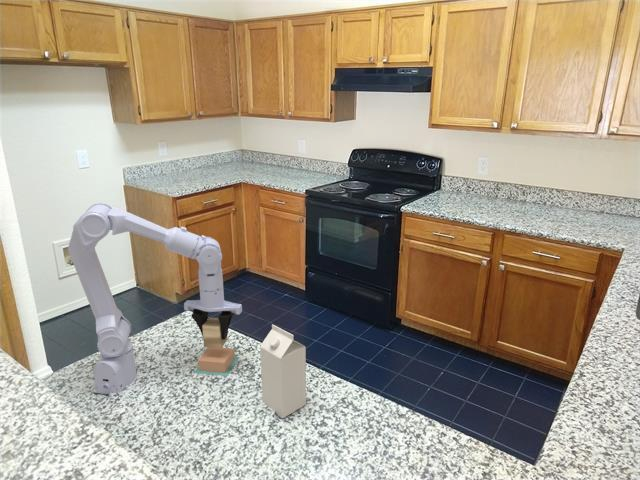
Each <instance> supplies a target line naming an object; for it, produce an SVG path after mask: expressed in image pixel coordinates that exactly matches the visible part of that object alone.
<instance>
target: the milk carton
mask: <svg viewBox="0 0 640 480" xmlns="http://www.w3.org/2000/svg"><path fill="white" fill-rule="evenodd" d="M306 347H307V346H305V345H303V344H302V343H300V342H298V341H296V340H295V339H294V334H292V333H290V332H288V331H286V330H284V329H282V328H281V327H278V326H277V325H274V324H271V330H270V331H269V332H268V334H267V335H266V337H265V338H264V340H263V342H262V343H261V344H260V347H259V349H260V372H261V373H260V374H261V391H262V392H261V395H262V403H263V404H265V405H266V406H268V407H269V408H271V410H273V411H275V413H274V414H275V415H277V416H278V417H279V418H281V419H284V418H286V417H288V416H289V415H291V414H292V413H294V412H296V411H298V410H300V409H301V408H303V407H304V406H306V405H307V371H306V368H307V367H306V364H307V363H306V362H307V361H306V358H307V357H306V355H307V354H306V351H307V350H306Z"/></svg>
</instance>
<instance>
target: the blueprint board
mask: <svg viewBox="0 0 640 480" xmlns="http://www.w3.org/2000/svg"><path fill="white" fill-rule="evenodd" d="M239 359H240V356H235V359H234V361H233V362H232V364H231V365H230V367H229V368H228V370H227V371H226V373H216V372H206V371H199V366H197V367H196V368H195V370H194V371H193V373H194V374H202V375H203V374H204V375H211V376H213V375H214V376H221V377H228V376H229V374H231V371H232V370H233V368H234V367H235V365H236V363H237V362H238V361H239Z"/></svg>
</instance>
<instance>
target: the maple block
mask: <svg viewBox="0 0 640 480" xmlns="http://www.w3.org/2000/svg"><path fill="white" fill-rule="evenodd" d="M202 328H203V336H202V339H203V347H204V348H208V347H209V348H220V349H221V348H224V345H225V344H226V342H227V341H228V336H227V337H226V339H225V340H222V337H221V326H220V322H219V319H218V317H208V320H207V321H206V322H205V323H204V324H203V325H202Z"/></svg>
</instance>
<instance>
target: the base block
mask: <svg viewBox="0 0 640 480" xmlns="http://www.w3.org/2000/svg"><path fill="white" fill-rule="evenodd" d="M206 348H207V349H206V350H205V351H204V352H203V353H202V354H201V356H200V357H199V358H198V359H197V365H198V366H199V371H206V372H216V373H226V371H227V370H228V368H229V367H230V365H231V364H232V362H233V361H234V359H235V357H236V356H235V348H230V347H222V348H221V349H220V348H209V347H206ZM198 366H197V367H198Z"/></svg>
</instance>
